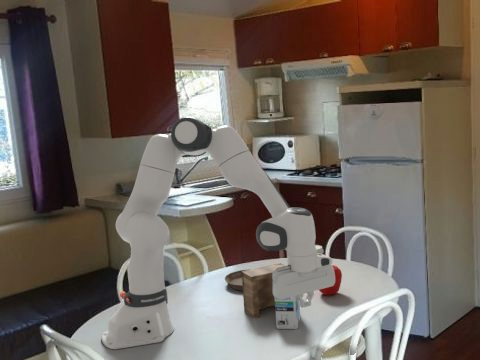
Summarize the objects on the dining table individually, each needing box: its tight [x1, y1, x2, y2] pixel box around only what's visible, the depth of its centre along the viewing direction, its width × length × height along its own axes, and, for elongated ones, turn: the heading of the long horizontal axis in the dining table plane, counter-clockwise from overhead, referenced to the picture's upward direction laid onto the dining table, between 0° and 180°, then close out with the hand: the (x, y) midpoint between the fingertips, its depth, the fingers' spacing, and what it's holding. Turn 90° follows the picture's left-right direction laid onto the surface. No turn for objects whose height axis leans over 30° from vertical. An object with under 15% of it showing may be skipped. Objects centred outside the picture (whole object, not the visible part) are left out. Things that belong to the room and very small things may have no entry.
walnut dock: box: [242, 263, 286, 319], centre depth 195 cm, size 15×8×14 cm, turn 114°
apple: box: [318, 264, 343, 297], centre depth 207 cm, size 10×10×11 cm
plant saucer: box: [224, 268, 251, 292], centre depth 225 cm, size 21×21×3 cm
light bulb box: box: [274, 296, 301, 330], centre depth 183 cm, size 11×7×11 cm, turn 168°
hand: (305, 306), depth 174 cm, fingers closed
